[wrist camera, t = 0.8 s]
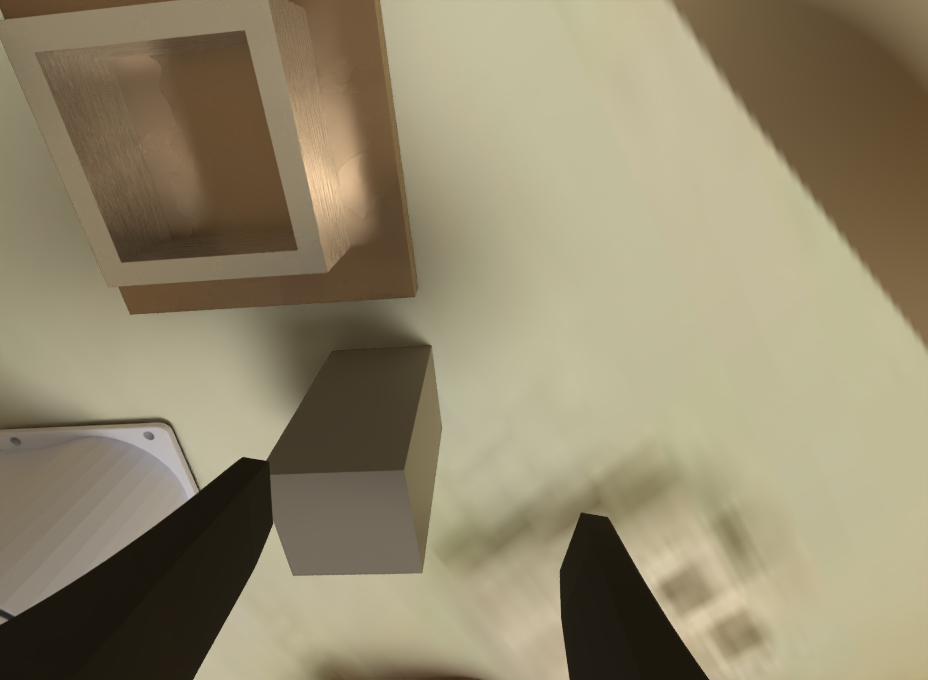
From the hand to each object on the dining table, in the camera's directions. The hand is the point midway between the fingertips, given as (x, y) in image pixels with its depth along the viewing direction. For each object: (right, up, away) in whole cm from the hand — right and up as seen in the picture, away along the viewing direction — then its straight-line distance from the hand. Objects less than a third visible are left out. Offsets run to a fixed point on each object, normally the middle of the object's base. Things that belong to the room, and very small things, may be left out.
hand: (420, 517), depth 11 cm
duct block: (-3, +2, +11) cm, 12 cm away
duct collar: (-7, +11, +7) cm, 15 cm away
